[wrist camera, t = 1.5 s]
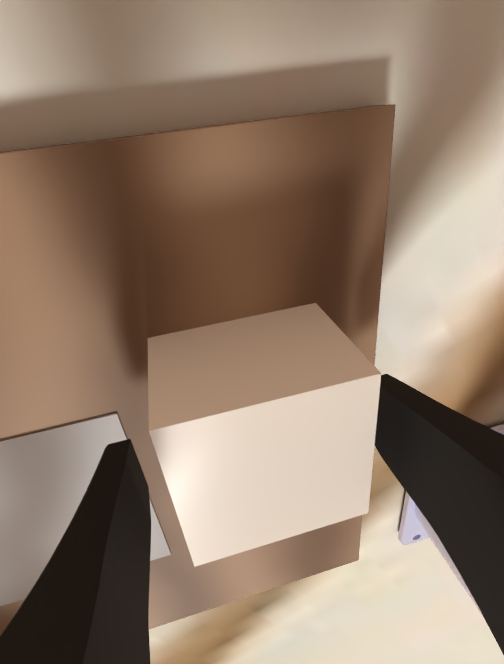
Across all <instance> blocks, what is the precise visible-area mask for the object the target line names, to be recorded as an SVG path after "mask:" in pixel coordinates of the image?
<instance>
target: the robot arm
mask: <svg viewBox="0 0 504 664" xmlns="http://www.w3.org/2000/svg"><path fill="white" fill-rule="evenodd" d="M375 446H376V448H377V450H378V452H379V453H380V455H381V457H382V458H383V460H384V461H385V462H386V464H387V465H388V467H389V468H390V469H391V471H392V472H393V474H394V475H395V476H396V478H397V479H398V481H399V482H400V483H401V485H402V486H403V488H404V489H405V490H406V494H405V500H404V506H403V512H402V518H401V524H400V529H399V535H398V539H399V540H400V542H401V543H402V544H403V545H407V544H411V543H414V542H417V541H420V540H423V539H426V538H429V537H430V539H431V540H432V542H433V543H434V544H435V546H436V547H437V549H438V550H439V552H440V553H441V555H442V556H443V558H444V559H445V561H446V562H447V564H448V565H449V567H450V568H451V569H452V571H453V572H454V574H455V575H456V577H457V578H458V580H459V581H460V583H461V584H462V586H463V587H464V589H465V590H466V591H467V593H468V594H469V596H470V597H471V599H472V600H473V602H474V603H475V605H476V606H477V608H478V609H479V611H480V612H481V614H482V615H483V617H484V618H485V620H486V622H487V624H488V626H489V628H490V630H491V632H492V634H493V635H494V637H495V639H496V641H497V643H498V645H499V647H500V649H501V651H502V653H503V655H504V424H502V425H498V426H495V427H491V428H488V427H486V426H484V425H482V424H480V423H478V422H476V421H474V420H472V419H470V418H468V417H466V416H464V415H462V414H460V413H458V412H456V411H454V410H452V409H450V408H448V407H447V406H445V405H443V404H441V403H439V402H437V401H435V400H434V399H432V398H430V397H428V396H426V395H425V394H423V393H421V392H419V391H417V390H416V389H414V388H412V387H410V386H408V385H407V384H405V383H403V382H401V381H399V380H398V379H396V378H394V377H392V376H390V375H388V374H384V375H381V382H380V393H379V403H378V414H377V424H376V435H375ZM150 552H151V511H150V499H149V487H148V484H147V481H146V478H145V476H144V473H143V471H142V468H141V465H140V463H139V460H138V457H137V455H136V452H135V450H134V447H133V444H132V442H131V439H127V440H123V441H119V442H115V443H111V444H108V445H107V446H106V448H105V449H104V452H103V454H102V456H101V459H100V461H99V463H98V466H97V468H96V470H95V473H94V475H93V477H92V479H91V481H90V484H89V486H88V488H87V490H86V492H85V494H84V496H83V498H82V500H81V502H80V504H79V506H78V508H77V510H76V512H75V514H74V516H73V518H72V520H71V522H70V524H69V526H68V528H67V529H66V531H65V533H64V535H63V537H62V538H61V540H60V542H59V544H58V546H57V547H56V549H55V551H54V553H53V555H52V556H51V558H50V560H49V562H48V563H47V565H46V567H45V568H44V570H43V572H42V573H41V575H40V577H39V578H38V580H37V581H36V583H35V585H34V586H33V588H32V589H31V591H30V592H29V594H28V595H27V597H26V599H25V600H24V602H23V603H22V605H21V606H20V608H19V609H18V611H17V612H16V614H15V615H14V617H13V618H12V619H11V621H10V622H9V624H8V625H7V627H6V628H5V630H4V631H3V632H2V634H1V635H0V664H150V649H149V581H150Z"/></svg>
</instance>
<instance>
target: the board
mask: <svg viewBox="0 0 504 664" xmlns="http://www.w3.org/2000/svg"><path fill="white" fill-rule="evenodd" d="M394 117H395V105H378V106H369V107H361V108H353V109H345V110H337V111H329V112H321V113H313V114H305V115H297V116H289V117H281V118H273V119H265V120H257V121H249V122H241V123H233V124H225V125H217V126H209V127H201V128H193V129H185V130H177V131H169V132H161V133H153V134H145V135H137V136H129V137H121V138H113V139H105V140H97V141H89V142H81V143H73V144H65V145H57V146H49V147H41V148H33V149H25V150H17V151H9V152H1V153H0V635H1V634H2V632H3V631H4V630H5V628H6V627H7V625H8V624H9V622H10V621H11V619H12V618H13V617H14V615H15V614H16V612H17V611H18V609H19V608H20V606H21V605H22V603H23V602H24V600H25V599H26V597H27V595H28V594H29V592H30V591H31V589H32V588H33V586H34V585H35V583H36V581H37V580H38V578H39V577H40V575H41V573H42V572H43V570H44V568H45V567H46V565H47V563H48V562H49V560H50V558H51V556H52V555H53V553H54V551H55V549H56V547H57V546H58V544H59V542H60V540H61V538H62V537H63V535H64V533H65V531H66V529H67V528H68V526H69V524H70V522H71V520H72V518H73V516H74V514H75V512H76V510H77V508H78V506H79V504H80V502H81V500H82V498H83V496H84V494H85V492H86V490H87V488H88V486H89V484H90V481H91V479H92V477H93V475H94V473H95V470H96V468H97V466H98V463H99V461H100V459H101V456H102V454H103V452H104V449H105V448H106V446H107V445H108V444H111V443H115V442H119V441H123V440H127V439H131V442H132V444H133V447H134V450H135V452H136V455H137V457H138V460H139V463H140V465H141V468H142V471H143V473H144V476H145V478H146V481H147V484H148V487H149V499H150V511H151V552H150V581H149V629H151V628H154V627H157V626H160V625H163V624H166V623H169V622H173V621H176V620H179V619H182V618H185V617H188V616H191V615H194V614H197V613H200V612H203V611H206V610H209V609H212V608H215V607H218V606H221V605H224V604H227V603H230V602H233V601H236V600H239V599H242V598H245V597H248V596H251V595H254V594H257V593H260V592H263V591H266V590H269V589H272V588H275V587H278V586H282V585H285V584H288V583H291V582H294V581H297V580H300V579H303V578H306V577H309V576H312V575H315V574H318V573H321V572H324V571H327V570H330V569H333V568H336V567H339V566H342V565H345V564H348V563H351V562H354V561H357V560H358V558H359V546H360V534H361V522H362V515H360V516H357V517H354V518H350V519H347V520H344V521H341V522H338V523H334V524H331V525H328V526H325V527H321V528H318V529H315V530H312V531H309V532H305V533H302V534H299V535H296V536H292V537H289V538H286V539H283V540H280V541H276V542H273V543H270V544H267V545H263V546H260V547H257V548H254V549H251V550H247V551H244V552H241V553H238V554H234V555H231V556H228V557H225V558H222V559H218V560H215V561H212V562H209V563H205V564H202V565H199V566H196V567H194V564H193V561H192V558H191V555H190V552H189V549H188V546H187V543H186V540H185V537H184V534H183V531H182V528H181V525H180V522H179V519H178V516H177V513H176V510H175V507H174V504H173V501H172V498H171V495H170V492H169V490H168V487H167V484H166V481H165V478H164V475H163V472H162V469H161V466H160V463H159V460H158V457H157V454H156V451H155V448H154V445H153V442H152V439H151V436H150V433H149V407H148V338H150V337H155V336H160V335H164V334H169V333H174V332H179V331H184V330H188V329H193V328H198V327H203V326H207V325H212V324H217V323H222V322H227V321H231V320H236V319H241V318H246V317H250V316H255V315H260V314H265V313H269V312H274V311H279V310H284V309H289V308H293V307H298V306H303V305H308V304H312V303H316V304H317V305H318V306H319V307H320V308H321V309H322V310H323V311H324V312H325V313H326V314H327V315H328V317H329V318H330V319H331V320H332V321H333V322H334V323H335V324H336V325H337V326H338V327H339V328H340V329H341V331H342V332H343V333H344V334H345V335H346V336H347V337H348V338H349V339H350V340H351V341H352V342H353V344H354V345H355V346H356V347H357V348H358V349H359V350H360V351H361V352H362V353H363V354H364V355H365V356H366V358H367V359H368V360H369V361H370V362H371V363H372V364H373V365H374V362H375V350H376V338H377V325H378V313H379V301H380V288H381V276H382V264H383V252H384V239H385V227H386V215H387V203H388V190H389V178H390V166H391V153H392V141H393V129H394Z"/></svg>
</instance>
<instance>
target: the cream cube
mask: <svg viewBox="0 0 504 664" xmlns="http://www.w3.org/2000/svg"><path fill="white" fill-rule="evenodd" d="M380 382H381V373H380V372H379V370H378V369H377V368H376V367H375V366H374V365H373V364H372V363H371V362H370V361H369V360H368V359H367V358H366V356H365V355H364V354H363V353H362V352H361V351H360V350H359V349H358V348H357V347H356V346H355V345H354V344H353V342H352V341H351V340H350V339H349V338H348V337H347V336H346V335H345V334H344V333H343V332H342V331H341V329H340V328H339V327H338V326H337V325H336V324H335V323H334V322H333V321H332V320H331V319H330V318H329V317H328V315H327V314H326V313H325V312H324V311H323V310H322V309H321V308H320V307H319V306H318V305H317V304H316V303H312V304H308V305H303V306H298V307H293V308H289V309H284V310H279V311H274V312H269V313H265V314H260V315H255V316H250V317H246V318H241V319H236V320H231V321H227V322H222V323H217V324H212V325H207V326H203V327H198V328H193V329H188V330H184V331H179V332H174V333H169V334H164V335H160V336H155V337H150V338H148V407H149V433H150V436H151V439H152V442H153V445H154V448H155V451H156V454H157V457H158V460H159V463H160V466H161V469H162V472H163V475H164V478H165V481H166V484H167V487H168V490H169V492H170V495H171V498H172V501H173V504H174V507H175V510H176V513H177V516H178V519H179V522H180V525H181V528H182V531H183V534H184V537H185V540H186V543H187V546H188V549H189V552H190V555H191V558H192V561H193V564H194V567H196V566H199V565H202V564H205V563H209V562H212V561H215V560H218V559H222V558H225V557H228V556H231V555H234V554H238V553H241V552H244V551H247V550H251V549H254V548H257V547H260V546H263V545H267V544H270V543H273V542H276V541H280V540H283V539H286V538H289V537H292V536H296V535H299V534H302V533H305V532H309V531H312V530H315V529H318V528H321V527H325V526H328V525H331V524H334V523H338V522H341V521H344V520H347V519H350V518H354V517H357V516H360V515H363V514H367V513H368V509H369V498H370V488H371V477H372V466H373V456H374V445H375V435H376V424H377V414H378V403H379V393H380Z"/></svg>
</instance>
